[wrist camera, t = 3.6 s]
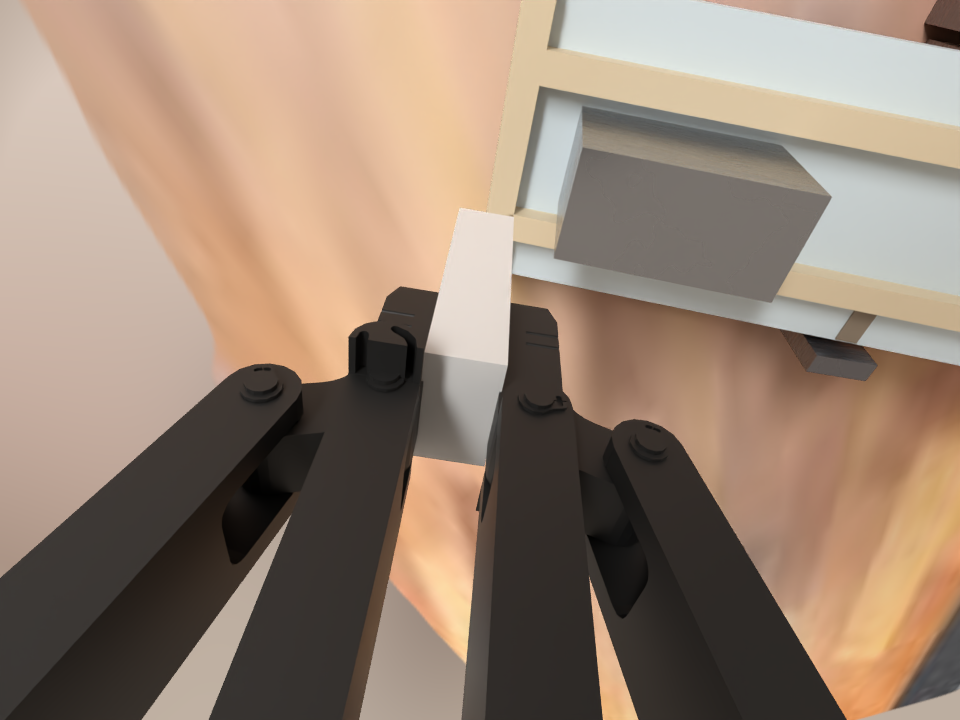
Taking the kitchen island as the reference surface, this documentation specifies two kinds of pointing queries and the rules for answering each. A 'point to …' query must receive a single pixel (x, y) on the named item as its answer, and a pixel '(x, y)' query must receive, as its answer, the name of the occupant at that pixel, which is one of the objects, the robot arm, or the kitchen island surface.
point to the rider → (684, 205)
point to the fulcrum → (842, 359)
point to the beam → (764, 117)
